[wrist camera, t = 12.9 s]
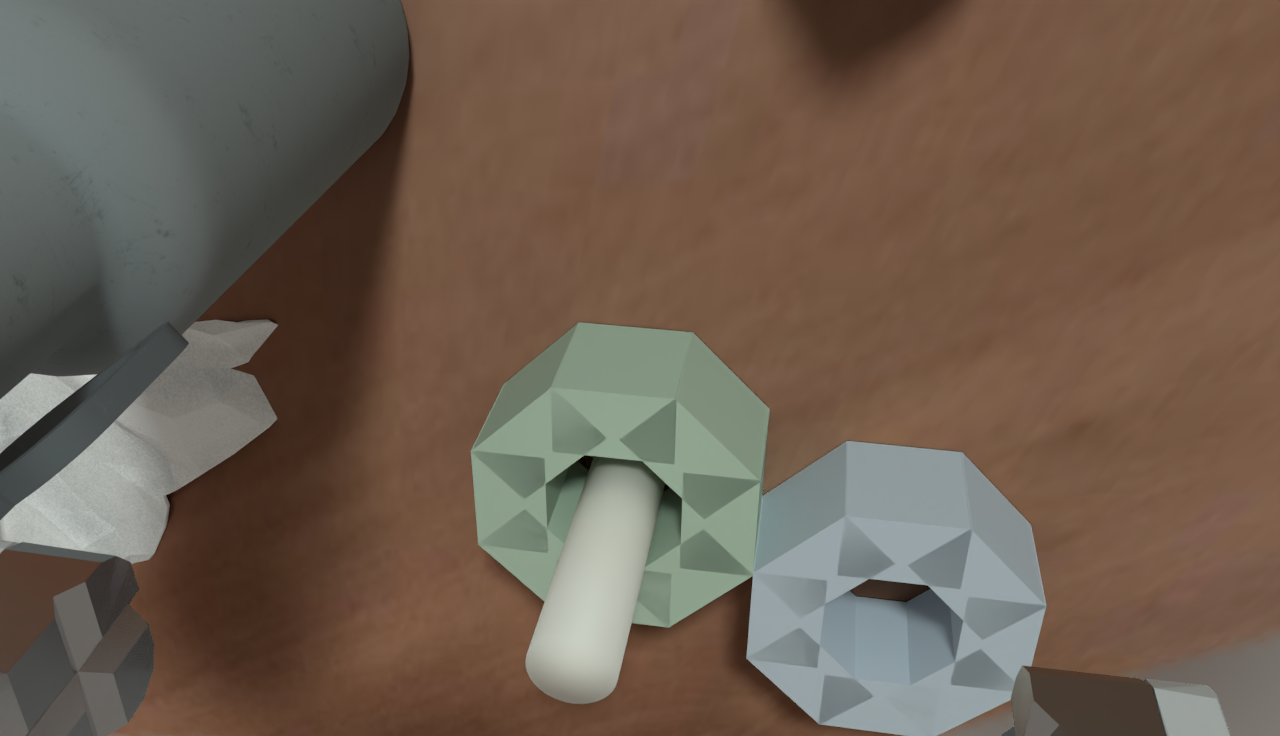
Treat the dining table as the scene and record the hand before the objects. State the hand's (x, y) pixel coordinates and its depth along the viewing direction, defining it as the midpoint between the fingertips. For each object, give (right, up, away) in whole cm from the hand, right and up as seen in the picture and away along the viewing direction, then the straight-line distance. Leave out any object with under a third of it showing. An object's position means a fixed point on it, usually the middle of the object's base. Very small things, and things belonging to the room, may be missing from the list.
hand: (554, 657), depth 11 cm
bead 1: (+1, 0, +34) cm, 34 cm away
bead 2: (+10, -5, +35) cm, 37 cm away
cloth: (-23, -1, +40) cm, 46 cm away
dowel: (+1, 0, +34) cm, 34 cm away
